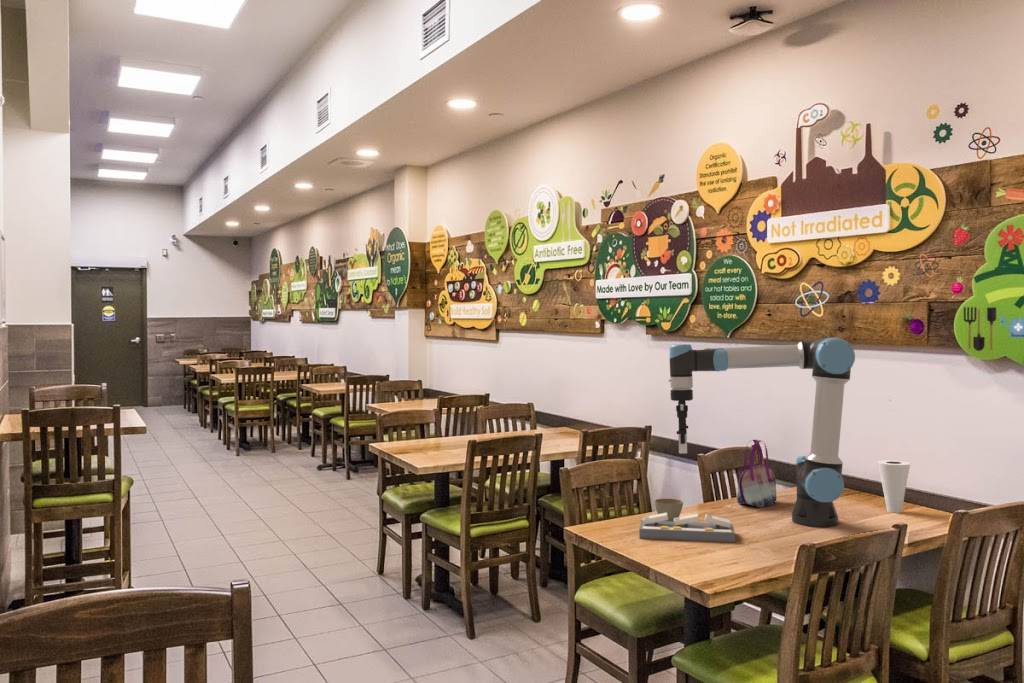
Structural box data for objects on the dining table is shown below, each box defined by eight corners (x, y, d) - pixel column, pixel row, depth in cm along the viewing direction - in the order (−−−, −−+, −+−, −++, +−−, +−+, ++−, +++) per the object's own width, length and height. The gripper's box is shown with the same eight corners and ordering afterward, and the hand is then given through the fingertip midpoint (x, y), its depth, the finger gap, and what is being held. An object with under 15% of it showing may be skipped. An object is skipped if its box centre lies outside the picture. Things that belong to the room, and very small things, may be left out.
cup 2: (916, 511, 274) (915, 463, 274) (901, 516, 268) (900, 466, 268) (888, 506, 283) (887, 459, 283) (872, 510, 277) (871, 462, 277)
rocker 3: (729, 524, 246) (730, 519, 246) (729, 527, 242) (730, 522, 242) (704, 518, 248) (705, 513, 248) (704, 521, 244) (706, 516, 244)
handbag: (750, 510, 281) (749, 443, 281) (728, 505, 289) (727, 441, 289) (784, 502, 293) (783, 438, 293) (763, 498, 301) (762, 436, 301)
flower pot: (683, 525, 260) (683, 504, 260) (654, 524, 262) (654, 503, 262) (682, 518, 270) (682, 498, 270) (654, 517, 272) (654, 497, 272)
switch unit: (732, 532, 249) (732, 521, 249) (735, 542, 237) (734, 530, 237) (641, 529, 256) (641, 518, 256) (639, 538, 244) (639, 526, 244)
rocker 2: (698, 518, 248) (697, 513, 249) (699, 521, 245) (697, 515, 245) (674, 522, 250) (673, 517, 250) (674, 525, 246) (673, 520, 246)
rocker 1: (668, 517, 251) (666, 512, 251) (667, 520, 247) (666, 514, 247) (644, 521, 252) (643, 516, 252) (644, 524, 248) (642, 519, 249)
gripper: (671, 386, 271) (672, 445, 271) (669, 391, 247) (671, 455, 247) (692, 386, 270) (693, 445, 270) (693, 391, 245) (694, 455, 245)
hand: (683, 450), depth 258 cm, fingers open, 13 cm apart
